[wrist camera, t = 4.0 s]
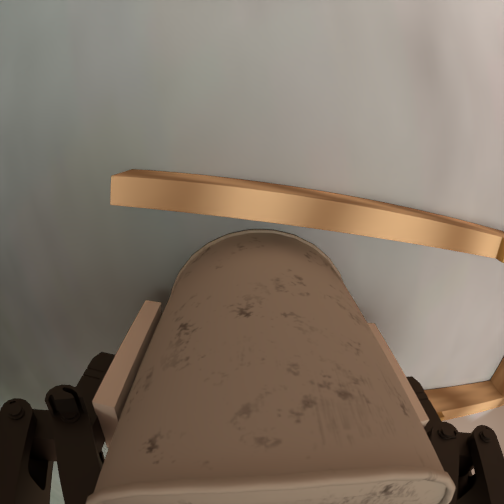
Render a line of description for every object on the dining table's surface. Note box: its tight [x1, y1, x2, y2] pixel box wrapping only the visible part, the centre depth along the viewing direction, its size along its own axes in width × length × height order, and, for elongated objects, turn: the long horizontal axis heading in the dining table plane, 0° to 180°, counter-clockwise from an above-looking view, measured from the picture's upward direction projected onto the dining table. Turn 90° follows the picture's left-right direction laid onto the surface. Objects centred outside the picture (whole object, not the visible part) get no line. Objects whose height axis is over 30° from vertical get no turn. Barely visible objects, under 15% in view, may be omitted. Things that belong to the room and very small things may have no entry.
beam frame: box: [110, 169, 504, 421], centre depth 16 cm, size 30×14×3 cm, turn 82°
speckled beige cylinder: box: [86, 229, 455, 504], centre depth 11 cm, size 10×10×12 cm
